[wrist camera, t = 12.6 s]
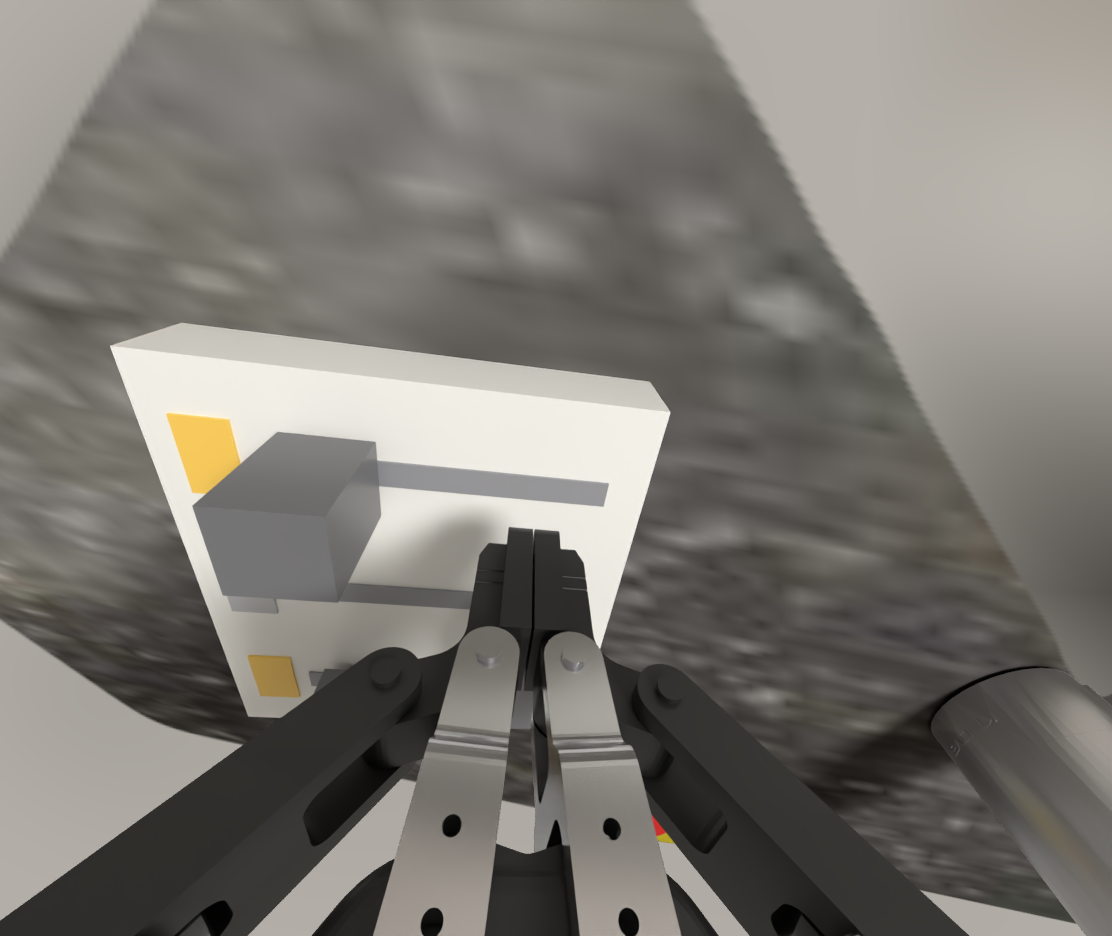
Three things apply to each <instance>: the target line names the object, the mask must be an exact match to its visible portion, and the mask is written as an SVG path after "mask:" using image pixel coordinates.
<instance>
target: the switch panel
mask: <svg viewBox="0 0 1112 936" xmlns="http://www.w3.org/2000/svg"><path fill="white" fill-rule="evenodd" d="M110 347H111V350H112V352H113V355H114V358H115V360H116V363H117V366H118V368H119V371H120V374H121V377H122V379H123V382H124V385H125V387H126V390H127V393H128V395H129V398H130V401H131V403H132V406H133V409H134V411H135V414H136V417H137V419H138V422H139V425H140V427H141V430H142V433H143V435H144V438H145V441H146V444H147V446H148V449H149V452H150V454H151V457H152V460H153V462H154V465H155V468H156V470H157V473H158V476H159V478H160V481H161V484H162V486H163V489H164V492H165V494H166V497H167V500H168V502H169V505H170V508H171V511H172V513H173V516H174V519H175V521H176V524H177V527H178V529H179V532H180V535H181V537H182V540H183V543H184V545H185V548H186V551H187V553H188V556H189V559H190V561H191V564H192V567H193V569H194V572H195V575H196V578H197V580H198V583H199V586H200V588H201V591H202V594H203V596H204V599H205V602H206V604H207V607H208V610H209V612H210V615H211V618H212V620H213V623H214V626H215V628H216V631H217V634H218V636H219V639H220V642H221V645H222V647H223V650H224V653H225V655H226V658H227V661H228V663H229V666H230V669H231V671H232V674H233V677H234V679H235V682H236V685H237V687H238V690H239V693H240V695H241V698H242V701H243V703H244V706H245V709H246V712H247V714H248V717H275V718H281V717H283V716H284V715H285V714H287V713H288V712H289V711H291V710H292V709H294V708H295V707H296V706H298V705H299V704H301V703H302V702H303V701H305V700H306V699H307V698H309V697H310V696H312V695H313V694H314V691H315V689H316V687H317V685H318V683H319V680H320V678H321V676H322V674H323V672H324V669H343V670H348V669H349V668H350V667H352V666H353V665H354V664H356V663H357V662H359V661H360V660H361V659H363V658H364V657H366V656H367V655H369V654H370V653H372V652H374V651H376V650H379V649H382V648H387V647H400V648H404V649H407V650H409V651H411V652H412V653H413V654H414V655H415V656H416V657H417V658H418V659H419V658H424V657H428V656H432V655H436V654H439V653H442V652H445V651H447V650H449V649H450V648H452V647H453V646H455V645H456V644H457V643H458V642H459V641H460V640H461V638H462V637H463V636H464V634H465V631H466V628H467V624H468V618H469V612H470V606H471V600H472V595H473V589H474V583H475V577H476V571H477V565H478V560H479V554H480V553H481V552H482V551H483V549H484V548H485V547H486V546H487V544H488V543H497V544H507V537H508V528H509V527H516V528H527V529H533V535H534V530H535V529H539V530H551V531H559V534H560V548H561V549H568V550H576V552H577V553H578V555H579V556H580V558H581V559H582V561H583V562H584V568H585V575H586V583H587V592H588V598H589V606H590V613H591V621H592V629H593V635H594V639H595V642H596V644H597V646H598V647H599V648H600V647H601V644H602V640H603V637H604V633H605V630H606V627H607V623H608V620H609V617H610V613H611V610H612V607H613V603H614V600H615V597H616V593H617V590H618V587H619V583H620V580H621V576H622V573H623V570H624V566H625V563H626V560H627V556H628V553H629V550H630V546H631V543H632V540H633V536H634V533H635V530H636V526H637V523H638V519H639V516H640V513H641V509H642V506H643V503H644V499H645V496H646V493H647V489H648V486H649V483H650V479H651V476H652V472H653V469H654V466H655V462H656V459H657V456H658V452H659V449H660V446H661V442H662V439H663V436H664V432H665V429H666V426H667V422H668V419H669V415H670V411H669V409H668V408H667V406H666V405H665V403H664V402H663V401H662V399H661V398H660V396H659V395H658V393H657V392H656V390H655V389H654V387H653V386H652V384H651V383H650V382H648V381H640V380H632V379H624V378H616V377H608V376H600V375H592V374H584V373H576V372H568V371H560V370H552V369H544V368H536V367H528V366H521V365H513V364H505V363H497V362H489V361H481V360H473V359H465V358H457V357H449V356H441V355H433V354H425V353H417V352H409V351H401V350H394V349H386V348H378V347H370V346H362V345H354V344H346V343H338V342H330V341H322V340H314V339H306V338H298V337H290V336H282V335H274V334H266V333H259V332H251V331H243V330H235V329H227V328H219V327H211V326H203V325H195V324H187V323H180V324H176V325H173V326H170V327H167V328H164V329H161V330H158V331H155V332H152V333H148V334H145V335H142V336H139V337H136V338H133V339H130V340H127V341H124V342H120V343H117V344H114V345H111V346H110ZM277 432H285V433H295V434H304V435H314V436H324V437H334V438H343V439H353V440H363V441H373V442H376V451H377V465H378V478H379V492H380V505H381V518H380V520H379V522H378V524H377V526H376V528H375V530H374V532H373V534H372V536H371V538H370V540H369V542H368V544H367V546H366V548H365V550H364V552H363V554H362V556H361V558H360V560H359V562H358V564H357V566H356V568H355V570H354V572H353V574H352V576H351V578H350V580H349V582H348V584H347V586H346V588H345V590H344V592H343V594H342V596H341V598H340V600H339V602H338V603H334V602H318V601H302V600H286V599H270V598H254V597H238V596H223V595H222V592H221V589H220V586H219V583H218V580H217V577H216V575H215V572H214V569H213V566H212V563H211V560H210V557H209V554H208V551H207V548H206V545H205V542H204V539H203V536H202V534H201V531H200V528H199V525H198V522H197V519H196V516H195V513H194V510H193V507H192V505H194V504H195V503H196V502H197V501H198V500H199V499H201V498H202V497H203V496H204V495H205V494H206V493H207V492H209V491H210V490H211V489H212V488H213V487H214V486H216V485H217V484H218V483H219V482H220V481H221V480H222V479H224V478H225V477H226V476H227V475H228V474H229V473H231V472H232V471H233V470H234V469H235V468H236V467H237V466H239V465H240V464H241V463H242V462H243V461H244V460H245V459H247V458H248V457H249V456H250V455H251V454H252V453H254V452H255V451H256V450H257V449H258V448H259V447H260V446H262V445H263V444H264V443H265V442H266V441H267V440H269V439H270V438H271V437H272V436H273V435H274V434H275V433H277Z"/></svg>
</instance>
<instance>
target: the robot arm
mask: <svg viewBox="0 0 1112 936" xmlns="http://www.w3.org/2000/svg"><path fill="white" fill-rule="evenodd" d="M523 676H524V691H533V711H532V716H531V722H530V727H531V744H532V761H533V778H534V795H535V829H534V853H532V854H524V853H520V852H518V851H515V850H512V849H509V848H507V847H504V846H501V845H498V844H496V840H497V832H498V825H499V816H500V809H501V801H502V793H503V785H504V777H505V769H506V761H507V753H508V741H509V733H510V725H511V719H512V716H513V711H514V705H515V699H516V693H517V691H521V688H522V682H523ZM931 731H932V733H933V735H934V737H935V738H936V739H937V741H938V742H939V743H940V744H941V746H942V747H943V748H944V750H945V751H946V752H947V754H948V755H949V756H950V758H951V759H952V760H953V762H954V763H955V764H956V765H957V767H958V768H959V769H960V771H961V772H962V773H963V775H964V776H965V777H966V779H967V780H968V781H969V783H970V784H971V785H972V786H973V788H974V789H975V790H976V792H977V793H978V794H979V796H980V797H981V799H982V800H983V801H984V803H985V804H986V805H987V807H988V808H989V809H990V811H991V812H992V813H993V814H994V816H995V817H996V818H997V820H998V821H999V822H1000V824H1001V825H1002V826H1003V828H1004V829H1005V830H1006V831H1007V833H1008V834H1009V835H1010V837H1011V838H1012V839H1013V841H1014V842H1015V843H1016V845H1017V846H1018V847H1019V849H1020V850H1021V851H1022V852H1023V854H1024V855H1025V856H1026V858H1027V859H1028V860H1029V862H1030V863H1031V864H1032V866H1033V867H1034V868H1035V869H1036V871H1037V872H1038V873H1039V875H1040V876H1041V877H1042V879H1043V880H1044V881H1045V883H1046V884H1047V885H1048V887H1049V888H1050V889H1051V890H1052V892H1053V893H1054V894H1055V896H1056V897H1057V898H1058V900H1059V901H1060V902H1061V904H1062V905H1063V906H1064V907H1065V909H1066V910H1067V911H1068V913H1069V914H1070V915H1071V917H1072V918H1073V919H1074V921H1075V922H1076V923H1077V925H1078V926H1079V927H1080V928H1081V930H1082V931H1083V932H1084V934H1085V935H1086V936H1112V706H1111V705H1110V704H1109V703H1108V702H1107V701H1106V700H1104V699H1103V698H1102V697H1101V696H1100V695H1099V694H1097V693H1096V692H1095V691H1094V690H1093V689H1092V688H1090V687H1089V686H1088V685H1081V684H1080V683H1079V682H1078V681H1076V680H1075V679H1074V678H1073V677H1072V676H1070V675H1069V674H1067V673H1066V672H1064V671H1061V670H1057V669H1051V668H1033V669H1024V670H1019V671H1013V672H1009V673H1005V674H1002V675H999V676H995V677H992V678H990V679H987V680H985V681H982V682H980V683H977V684H975V685H974V686H972V687H970V688H968V689H966V690H964V691H962V692H961V693H959V694H958V695H956V696H954V697H953V698H951V699H950V700H949V701H948V702H947V703H946V704H944V705H943V706H942V707H941V708H940V709H939V711H938V712H937V713H936V714H935V716H934V718H933V720H932V722H931ZM420 759H423V761H422V764H421V768H420V771H419V775H418V778H417V782H416V785H415V789H414V793H413V796H412V800H411V803H410V807H409V810H408V814H407V817H406V821H405V825H404V828H403V831H402V835H401V839H400V842H399V846H398V849H397V853H396V856H395V859H393V860H391V861H389V862H387V863H386V864H384V865H382V866H381V867H379V868H378V869H376V870H374V871H373V872H372V873H371V874H369V875H368V876H367V877H366V878H365V879H363V880H362V881H361V882H359V883H358V884H357V885H356V886H355V887H354V888H353V889H352V890H351V891H350V892H349V893H348V894H347V895H346V896H345V897H344V898H343V899H342V900H341V902H340V903H339V904H338V905H337V906H336V907H335V908H334V910H333V911H332V912H331V913H330V914H329V916H328V917H327V918H326V919H325V920H324V922H323V923H322V924H321V925H320V926H319V928H318V929H317V930H316V931H315V932H314V933H313V935H312V936H718V934H717V933H716V932H715V930H714V929H713V928H712V926H711V925H710V923H709V922H708V921H707V919H706V918H705V917H704V915H703V914H702V912H701V911H700V910H699V908H698V907H697V906H696V904H695V903H694V902H693V901H692V899H691V898H690V897H689V896H688V895H687V893H686V892H685V891H684V890H683V889H682V888H681V887H680V886H679V885H678V884H677V883H676V882H675V881H674V880H673V879H672V878H671V877H670V876H669V875H667V874H666V872H665V868H664V864H663V860H662V856H661V852H660V848H659V844H658V840H657V836H656V832H655V828H654V824H653V820H652V816H653V817H654V818H655V820H656V821H657V822H658V823H659V824H660V826H661V827H662V828H663V829H664V831H665V832H666V833H667V834H668V836H669V837H670V838H671V839H672V841H673V842H674V843H675V844H676V845H677V847H678V848H679V849H680V850H681V852H682V853H683V854H684V855H685V857H686V858H687V859H688V860H689V861H690V863H691V864H692V865H693V866H694V868H695V869H696V870H697V871H698V873H699V874H700V875H701V876H702V878H703V879H704V880H705V881H706V882H707V884H708V885H709V886H710V887H711V889H712V890H713V891H714V892H715V893H716V895H717V896H718V897H719V898H720V900H721V901H722V902H723V903H724V905H725V906H726V907H727V908H728V910H729V911H730V912H731V913H732V915H733V916H734V917H735V918H736V919H737V921H738V922H739V923H740V924H741V925H742V927H743V928H744V929H745V931H746V932H747V933H748V934H749V935H750V936H969V935H968V934H967V933H966V932H965V931H963V930H962V929H961V928H960V927H959V926H958V925H957V924H956V923H955V922H954V921H952V919H950V918H949V917H948V916H947V915H946V914H945V913H944V912H943V911H942V910H941V909H940V908H938V907H937V906H936V905H935V904H934V903H933V902H932V901H931V900H930V899H929V898H927V896H925V895H924V894H923V893H922V892H921V891H920V890H919V889H918V888H917V887H916V886H915V885H913V884H912V883H911V882H910V881H909V880H908V879H907V878H906V877H905V876H904V875H903V874H902V873H900V872H899V871H898V870H897V869H896V868H895V867H894V866H893V865H892V864H891V863H890V862H888V861H887V860H886V859H885V858H884V857H883V856H882V855H881V854H880V853H879V852H878V851H877V850H875V849H874V848H873V847H872V846H871V845H870V844H869V843H868V842H867V841H866V840H865V839H863V838H862V837H861V836H860V835H859V834H858V833H857V832H856V831H855V830H854V829H853V828H852V827H850V826H849V825H848V824H847V823H846V822H845V821H844V820H843V819H842V818H841V817H840V816H838V815H837V814H836V813H835V812H834V811H833V810H832V809H831V808H830V807H829V806H828V805H826V804H825V803H824V802H823V801H822V800H821V799H820V798H819V797H818V796H817V795H816V794H815V793H813V792H812V791H811V790H810V789H809V788H808V787H807V786H806V785H805V784H804V783H803V782H801V781H800V780H799V779H798V778H797V777H796V776H795V775H794V774H793V773H792V772H791V771H790V770H788V769H787V768H786V767H785V766H784V765H783V764H782V763H781V762H780V761H779V760H778V759H776V758H775V757H774V756H773V755H772V754H771V753H770V752H769V751H768V750H767V749H766V748H765V747H763V746H762V745H761V744H760V743H759V742H758V741H757V740H756V739H755V738H754V737H753V736H751V735H750V734H749V733H748V732H747V731H746V730H745V729H744V728H743V727H742V726H741V725H740V724H738V723H737V722H736V721H735V720H734V719H733V718H732V717H731V716H730V715H729V714H728V713H726V712H725V711H724V710H723V709H722V708H721V707H720V706H719V705H718V704H717V703H716V702H714V701H713V700H712V699H711V698H710V697H709V696H708V695H707V694H706V693H705V692H704V691H703V690H701V689H700V688H699V687H698V686H697V685H696V684H695V683H694V682H693V681H692V680H691V679H689V678H688V677H687V676H686V675H685V674H684V673H682V672H681V671H679V670H678V669H676V668H674V667H671V666H668V665H664V664H655V665H651V666H648V667H647V668H645V669H644V670H643V671H642V672H638V671H635V670H632V669H630V668H627V667H624V666H622V665H619V664H617V663H615V662H613V661H612V660H610V659H609V658H608V657H606V656H605V655H604V654H603V653H602V652H601V650H600V648H599V647H598V646H597V644H596V642H595V639H594V635H593V629H592V621H591V613H590V606H589V598H588V592H587V583H586V575H585V568H584V562H583V561H582V559H581V558H580V556H579V555H578V553H577V552H576V550H568V549H561V548H560V534H559V531H551V530H539V529H535V530H534V535H533V529H527V528H516V527H509V528H508V537H507V544H497V543H488V544H487V546H486V547H485V548H484V549H483V551H482V552H481V553H480V554H479V560H478V565H477V571H476V577H475V583H474V589H473V595H472V600H471V606H470V612H469V618H468V624H467V628H466V631H465V634H464V636H463V637H462V638H461V640H460V641H459V642H458V643H457V644H456V645H455V646H453V647H452V648H450V649H449V650H447V651H445V652H442V653H439V654H436V655H432V656H428V657H424V658H419V659H418V658H417V657H416V656H415V655H414V654H413V653H412V652H411V651H409V650H407V649H404V648H400V647H387V648H382V649H379V650H376V651H374V652H372V653H370V654H369V655H367V656H366V657H364V658H363V659H361V660H360V661H359V662H357V663H356V664H354V665H353V666H352V667H350V668H349V669H348V670H346V671H345V672H343V673H342V674H341V675H339V676H338V677H336V678H335V679H334V680H332V681H331V682H330V683H328V684H327V685H325V686H324V687H323V688H321V689H320V690H319V691H317V692H316V693H314V694H313V695H312V696H310V697H309V698H307V699H306V700H305V701H303V702H302V703H301V704H299V705H298V706H296V707H295V708H294V709H292V710H291V711H289V712H288V713H287V714H285V715H284V716H283V717H281V718H280V719H278V720H277V721H276V722H274V723H273V724H271V725H270V726H269V727H267V728H266V729H265V730H263V731H262V732H260V733H259V734H258V735H256V736H255V737H254V738H252V739H251V740H249V741H248V742H247V743H245V744H244V745H242V746H241V747H240V748H238V749H237V750H236V751H234V752H233V753H231V754H230V755H229V756H227V757H226V758H224V759H223V760H222V761H220V762H219V763H218V764H216V765H215V766H213V767H212V768H211V769H210V770H208V771H207V772H205V773H204V774H202V775H201V776H200V777H198V778H197V779H195V780H194V781H193V782H191V783H190V784H189V785H187V786H186V787H184V788H183V789H182V790H180V791H179V792H178V793H176V794H175V795H173V796H172V797H171V798H169V799H168V800H166V801H165V802H164V803H162V804H161V805H160V806H158V807H157V808H155V809H154V810H153V811H151V812H150V813H148V814H147V815H146V816H144V817H143V818H142V819H140V820H139V821H137V822H136V823H135V824H133V825H132V826H130V827H129V828H128V829H127V830H125V831H124V832H122V833H121V834H119V835H118V836H117V837H115V838H114V839H113V840H111V841H110V842H108V843H107V844H106V845H104V846H103V847H101V848H100V849H99V850H97V851H96V852H95V853H93V854H92V855H91V856H89V857H88V858H87V859H85V860H84V861H82V862H81V863H79V864H78V865H77V866H75V867H74V868H72V869H71V870H70V871H68V872H67V873H66V874H64V875H63V876H61V877H60V878H59V879H57V880H56V881H54V882H53V883H52V884H50V885H49V886H48V887H46V888H45V889H44V890H42V891H41V892H39V893H38V894H37V895H35V896H34V897H32V898H31V899H30V900H28V901H27V902H25V903H24V904H23V905H21V906H20V907H19V908H17V909H16V910H14V911H13V912H12V913H10V914H9V915H8V916H6V917H5V918H3V919H2V920H1V921H0V936H248V934H249V933H251V932H252V931H253V930H254V928H255V927H256V926H257V925H258V924H259V923H260V922H261V921H262V920H263V919H264V918H265V917H266V916H267V915H268V914H269V913H270V912H271V911H272V910H273V909H274V908H275V907H276V906H277V905H278V904H279V903H280V902H281V901H282V900H283V899H284V898H285V897H286V896H287V895H288V894H289V893H290V892H291V891H292V889H294V887H296V886H297V884H298V883H300V881H301V880H302V879H303V878H304V877H305V876H306V875H307V874H308V873H309V872H310V871H311V870H312V869H313V868H314V867H315V866H316V865H317V864H318V863H319V862H320V861H321V860H322V859H323V858H324V857H325V856H326V855H327V854H328V853H329V852H330V851H331V850H332V849H333V848H334V847H335V846H336V845H337V844H338V843H339V842H340V841H341V839H342V838H344V837H345V836H346V834H347V833H348V832H349V831H350V830H351V829H352V828H353V827H354V826H355V825H356V824H357V823H358V822H359V821H360V820H361V819H362V818H363V817H364V816H365V815H366V814H367V813H368V812H369V811H370V810H371V809H372V808H373V807H374V806H375V805H376V804H377V802H379V801H380V800H381V799H382V798H383V797H384V796H385V795H386V794H387V792H389V791H390V789H392V787H393V786H394V785H395V784H396V783H397V782H398V781H399V780H400V779H401V778H402V777H403V776H404V775H405V774H406V773H407V772H408V771H409V770H410V769H411V768H412V767H413V766H414V765H415V763H416V762H417V760H420ZM651 815H652V816H651Z"/></svg>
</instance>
